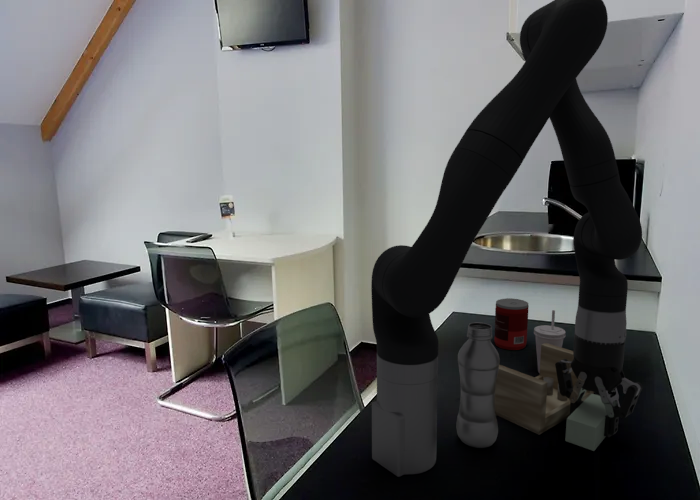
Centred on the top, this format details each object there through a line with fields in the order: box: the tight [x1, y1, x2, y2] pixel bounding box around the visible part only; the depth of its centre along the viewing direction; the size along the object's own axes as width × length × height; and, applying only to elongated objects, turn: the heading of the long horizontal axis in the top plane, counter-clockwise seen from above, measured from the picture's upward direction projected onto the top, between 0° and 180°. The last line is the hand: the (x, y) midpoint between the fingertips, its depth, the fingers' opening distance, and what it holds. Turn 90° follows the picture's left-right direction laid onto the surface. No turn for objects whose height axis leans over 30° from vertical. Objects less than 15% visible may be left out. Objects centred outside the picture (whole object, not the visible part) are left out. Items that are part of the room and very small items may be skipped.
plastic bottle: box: [455, 321, 501, 449], centre depth 82 cm, size 6×7×20 cm
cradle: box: [495, 343, 595, 436], centre depth 94 cm, size 18×10×9 cm, turn 128°
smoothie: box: [533, 310, 566, 374], centre depth 109 cm, size 6×6×14 cm
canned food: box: [493, 297, 529, 351], centre depth 126 cm, size 8×8×11 cm
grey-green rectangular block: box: [564, 393, 607, 452], centre depth 86 cm, size 12×4×4 cm, turn 137°
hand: (592, 428), depth 86 cm, fingers closed on grey-green rectangular block, 5 cm apart
